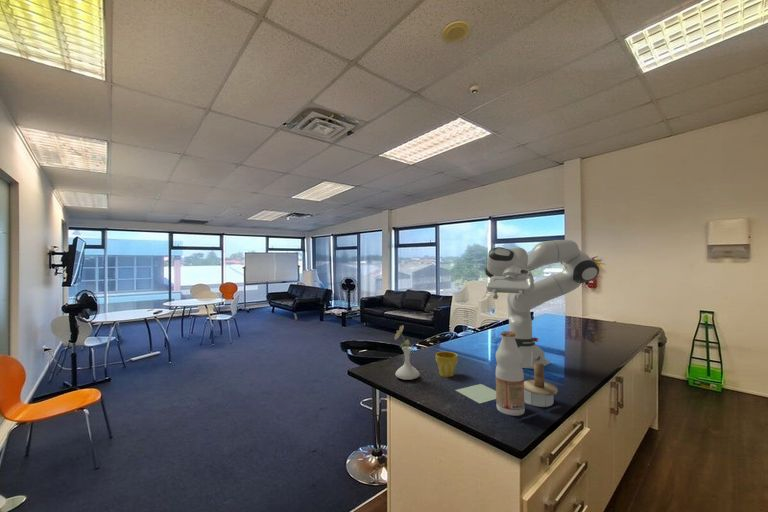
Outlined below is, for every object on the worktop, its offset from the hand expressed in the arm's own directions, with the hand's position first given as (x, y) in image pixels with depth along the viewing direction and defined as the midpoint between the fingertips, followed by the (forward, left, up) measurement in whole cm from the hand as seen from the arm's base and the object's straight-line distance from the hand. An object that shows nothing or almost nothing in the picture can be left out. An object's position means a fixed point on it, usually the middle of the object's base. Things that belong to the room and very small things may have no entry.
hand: (505, 298), depth 134 cm
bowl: (+4, +17, -37) cm, 41 cm away
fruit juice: (+18, +17, -38) cm, 45 cm away
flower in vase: (+35, -28, -38) cm, 58 cm away
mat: (+18, +2, -37) cm, 41 cm away
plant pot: (+16, -22, -38) cm, 46 cm away
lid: (+3, +17, -32) cm, 37 cm away
